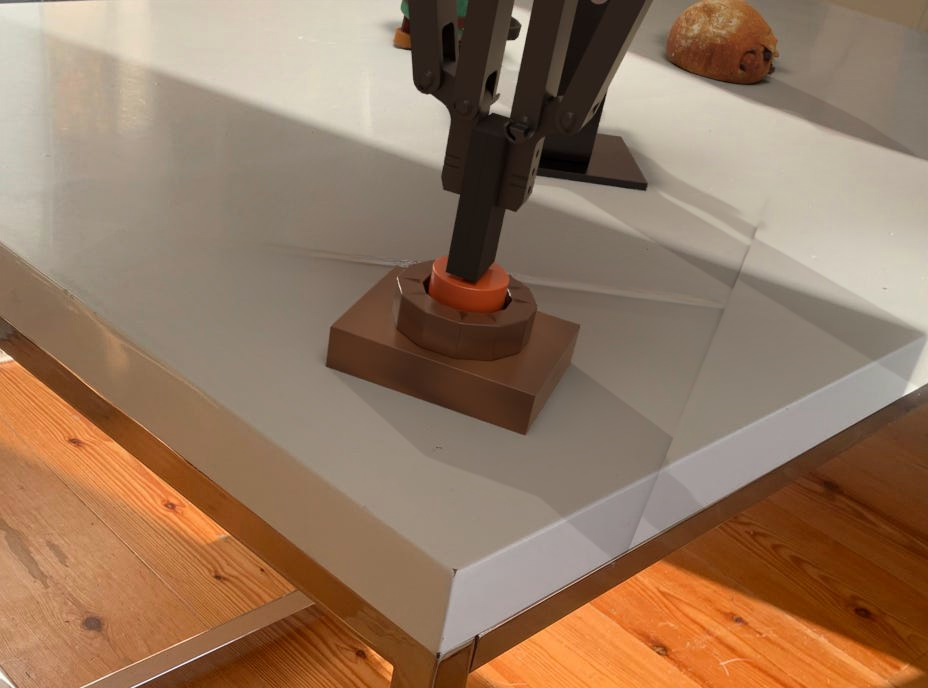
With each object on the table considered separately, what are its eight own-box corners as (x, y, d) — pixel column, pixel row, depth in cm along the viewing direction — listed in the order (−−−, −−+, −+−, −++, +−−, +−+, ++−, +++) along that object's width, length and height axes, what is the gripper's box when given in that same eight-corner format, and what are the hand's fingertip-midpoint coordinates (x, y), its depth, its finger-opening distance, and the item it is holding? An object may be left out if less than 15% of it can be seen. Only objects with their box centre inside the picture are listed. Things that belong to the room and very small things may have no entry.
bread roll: (697, 86, 115) (689, 1, 112) (796, 71, 109) (790, -20, 106) (654, 102, 108) (644, 11, 105) (756, 86, 102) (749, -11, 99)
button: (511, 302, 54) (519, 269, 53) (488, 332, 51) (495, 297, 50) (442, 280, 54) (448, 246, 53) (415, 308, 52) (421, 273, 51)
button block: (570, 363, 57) (590, 291, 54) (525, 436, 51) (544, 359, 48) (390, 303, 59) (401, 231, 56) (325, 367, 53) (334, 289, 50)
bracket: (617, 152, 84) (671, -51, 75) (643, 200, 77) (706, -17, 68) (459, 129, 82) (496, -83, 73) (471, 176, 75) (514, -51, 66)
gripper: (807, -346, 39) (623, 280, 53) (457, -421, 41) (372, 200, 55) (783, -364, 33) (584, 344, 48) (377, -450, 35) (306, 252, 50)
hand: (470, 266), depth 51 cm, fingers closed
